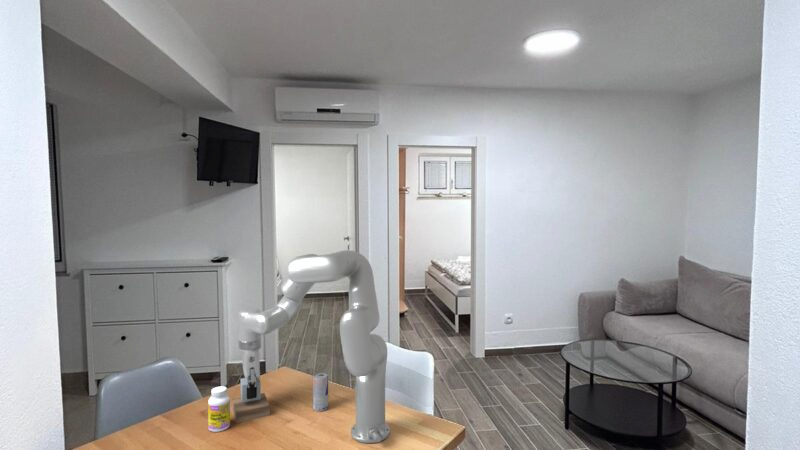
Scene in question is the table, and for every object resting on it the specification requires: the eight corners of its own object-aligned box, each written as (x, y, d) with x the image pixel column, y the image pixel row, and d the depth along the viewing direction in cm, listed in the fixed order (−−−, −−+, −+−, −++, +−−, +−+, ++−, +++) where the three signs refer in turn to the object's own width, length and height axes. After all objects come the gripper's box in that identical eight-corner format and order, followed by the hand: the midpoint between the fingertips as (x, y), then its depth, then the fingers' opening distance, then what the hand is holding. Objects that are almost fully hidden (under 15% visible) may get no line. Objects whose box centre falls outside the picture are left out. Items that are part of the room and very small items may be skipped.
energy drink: (329, 405, 152) (329, 373, 151) (325, 412, 146) (325, 379, 146) (315, 404, 152) (315, 372, 152) (311, 411, 147) (311, 378, 146)
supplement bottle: (206, 434, 132) (205, 394, 132) (210, 423, 139) (209, 386, 138) (229, 431, 134) (228, 392, 133) (231, 421, 140) (231, 383, 140)
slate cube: (260, 398, 145) (260, 382, 145) (242, 402, 142) (242, 385, 142) (258, 392, 150) (258, 375, 150) (240, 395, 147) (240, 378, 147)
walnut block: (269, 416, 144) (269, 405, 144) (236, 424, 139) (235, 412, 139) (264, 403, 154) (264, 392, 154) (232, 410, 149) (232, 399, 149)
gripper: (264, 350, 139) (265, 402, 140) (258, 335, 155) (258, 382, 155) (241, 353, 136) (241, 407, 137) (236, 338, 151) (237, 386, 152)
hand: (250, 393), depth 146 cm, fingers closed on slate cube, 6 cm apart
